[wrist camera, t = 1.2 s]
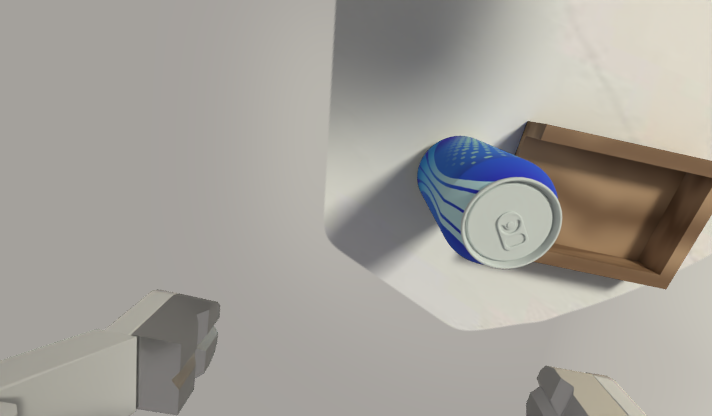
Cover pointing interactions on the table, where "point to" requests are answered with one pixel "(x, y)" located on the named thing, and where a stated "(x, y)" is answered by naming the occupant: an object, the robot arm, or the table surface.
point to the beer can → (489, 202)
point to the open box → (620, 203)
